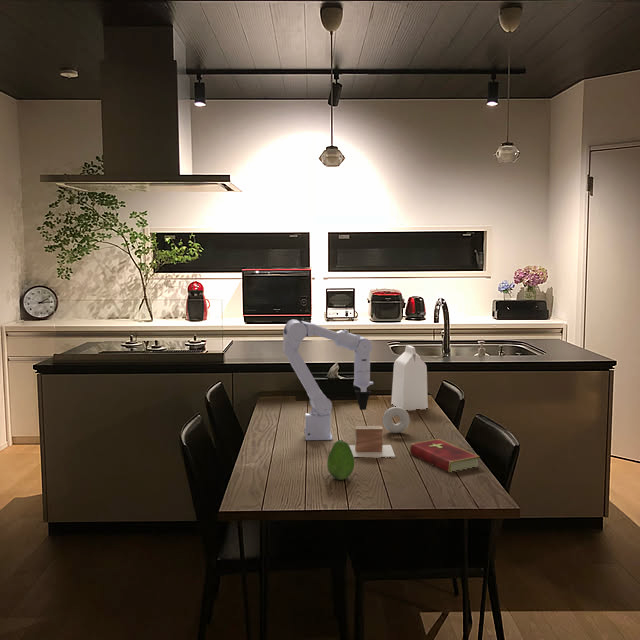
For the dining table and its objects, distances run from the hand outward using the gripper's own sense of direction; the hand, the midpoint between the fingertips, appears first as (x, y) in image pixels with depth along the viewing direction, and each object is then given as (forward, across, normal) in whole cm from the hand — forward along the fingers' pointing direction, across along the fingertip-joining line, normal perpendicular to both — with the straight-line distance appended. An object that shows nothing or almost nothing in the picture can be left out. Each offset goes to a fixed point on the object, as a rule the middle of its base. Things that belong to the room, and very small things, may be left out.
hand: (361, 406), depth 246 cm
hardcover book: (+11, -29, -24) cm, 39 cm away
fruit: (+10, -45, +10) cm, 47 cm away
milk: (+11, +41, -24) cm, 49 cm away
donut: (+11, +2, -13) cm, 17 cm away
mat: (+10, -20, -1) cm, 23 cm away
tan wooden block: (+10, -20, -1) cm, 22 cm away
